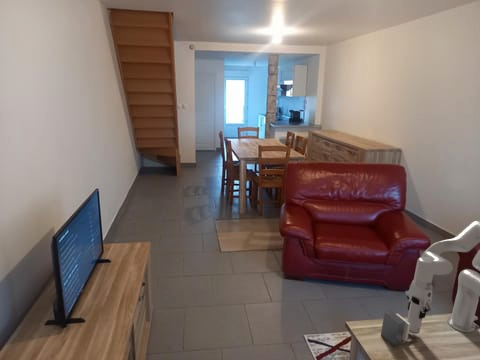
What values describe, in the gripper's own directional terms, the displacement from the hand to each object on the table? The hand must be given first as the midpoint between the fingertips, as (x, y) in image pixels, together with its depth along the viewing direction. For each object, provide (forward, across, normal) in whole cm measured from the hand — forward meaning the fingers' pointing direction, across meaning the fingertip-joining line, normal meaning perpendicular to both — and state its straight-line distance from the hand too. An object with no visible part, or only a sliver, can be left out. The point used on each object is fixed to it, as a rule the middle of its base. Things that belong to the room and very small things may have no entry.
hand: (416, 313), depth 172 cm
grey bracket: (+13, 0, +9) cm, 15 cm away
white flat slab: (+11, -1, +8) cm, 14 cm away
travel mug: (+10, 0, 0) cm, 10 cm away
